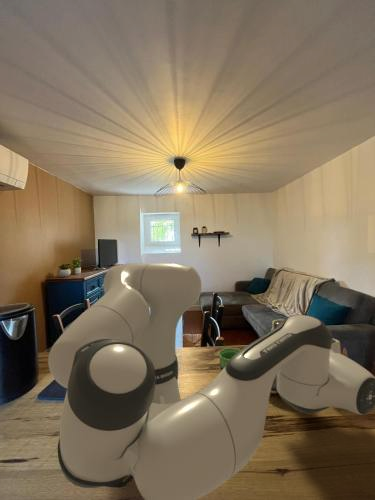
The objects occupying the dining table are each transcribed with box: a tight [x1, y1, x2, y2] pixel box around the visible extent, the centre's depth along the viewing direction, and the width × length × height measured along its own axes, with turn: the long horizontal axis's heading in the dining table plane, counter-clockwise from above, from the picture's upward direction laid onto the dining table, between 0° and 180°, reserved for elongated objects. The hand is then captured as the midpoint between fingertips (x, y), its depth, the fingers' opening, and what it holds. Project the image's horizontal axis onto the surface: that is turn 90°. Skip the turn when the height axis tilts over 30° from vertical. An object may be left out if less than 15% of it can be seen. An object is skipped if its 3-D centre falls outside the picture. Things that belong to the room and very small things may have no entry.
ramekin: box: [218, 347, 241, 370], centre depth 89 cm, size 9×9×4 cm
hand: (278, 336), depth 76 cm, fingers closed on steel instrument, 5 cm apart
